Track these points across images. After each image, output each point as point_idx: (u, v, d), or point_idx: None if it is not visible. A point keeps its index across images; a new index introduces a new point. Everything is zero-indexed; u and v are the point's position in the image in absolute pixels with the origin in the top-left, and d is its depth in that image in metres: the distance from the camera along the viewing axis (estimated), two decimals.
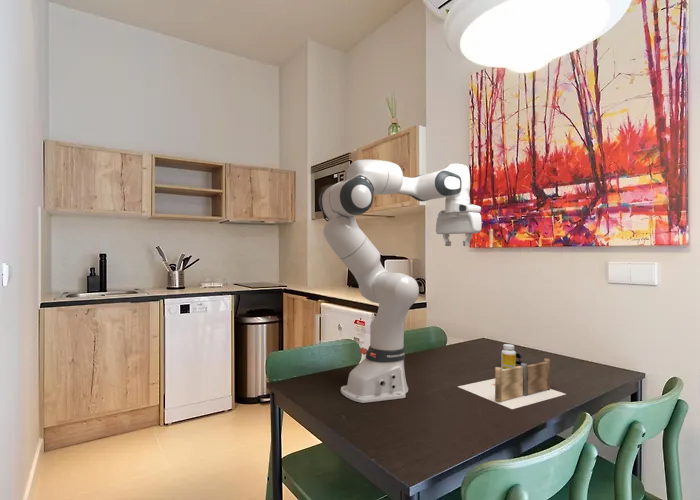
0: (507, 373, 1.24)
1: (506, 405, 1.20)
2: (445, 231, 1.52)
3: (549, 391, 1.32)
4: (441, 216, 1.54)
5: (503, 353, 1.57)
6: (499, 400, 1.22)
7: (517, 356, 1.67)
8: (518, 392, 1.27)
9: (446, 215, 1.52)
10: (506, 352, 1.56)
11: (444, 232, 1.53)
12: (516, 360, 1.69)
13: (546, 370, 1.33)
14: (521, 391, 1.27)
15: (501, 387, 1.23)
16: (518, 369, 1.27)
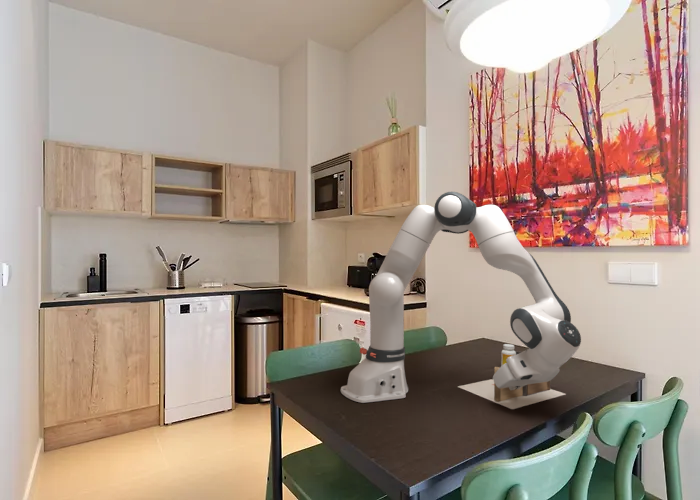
0: None
1: (506, 405, 1.20)
2: None
3: (549, 391, 1.32)
4: None
5: (503, 353, 1.57)
6: (498, 400, 1.22)
7: None
8: (518, 392, 1.27)
9: None
10: (506, 352, 1.56)
11: None
12: None
13: None
14: (521, 391, 1.27)
15: None
16: None
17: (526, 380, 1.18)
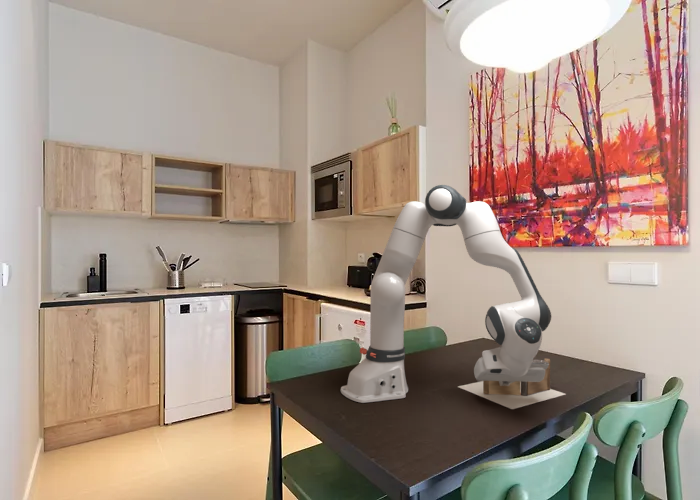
0: None
1: (506, 405, 1.20)
2: None
3: (549, 391, 1.32)
4: None
5: None
6: (485, 392, 1.29)
7: None
8: (514, 390, 1.28)
9: None
10: None
11: None
12: None
13: (546, 370, 1.33)
14: (518, 390, 1.28)
15: None
16: None
17: (506, 376, 1.21)
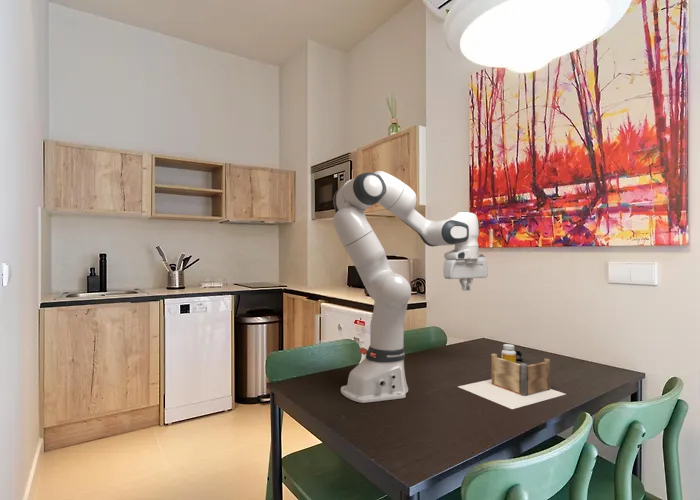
0: (500, 362, 1.36)
1: (506, 405, 1.20)
2: None
3: (549, 391, 1.32)
4: None
5: (503, 353, 1.57)
6: (491, 382, 1.39)
7: (518, 354, 1.71)
8: (514, 387, 1.31)
9: None
10: (506, 352, 1.56)
11: None
12: (517, 358, 1.73)
13: (546, 370, 1.33)
14: (517, 388, 1.30)
15: (493, 371, 1.38)
16: (513, 365, 1.31)
17: (467, 269, 1.52)
